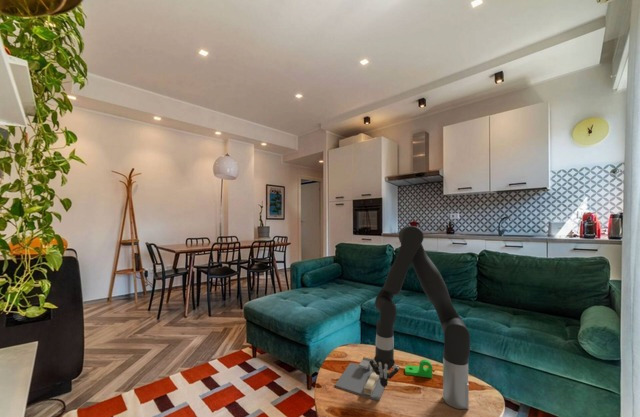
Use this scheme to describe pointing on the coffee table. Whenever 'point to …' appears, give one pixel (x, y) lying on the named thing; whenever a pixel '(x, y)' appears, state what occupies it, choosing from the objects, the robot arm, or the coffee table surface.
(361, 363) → the keeper
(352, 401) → the coffee table surface
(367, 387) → the latch bar
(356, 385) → the base plate
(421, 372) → the mechanical part
